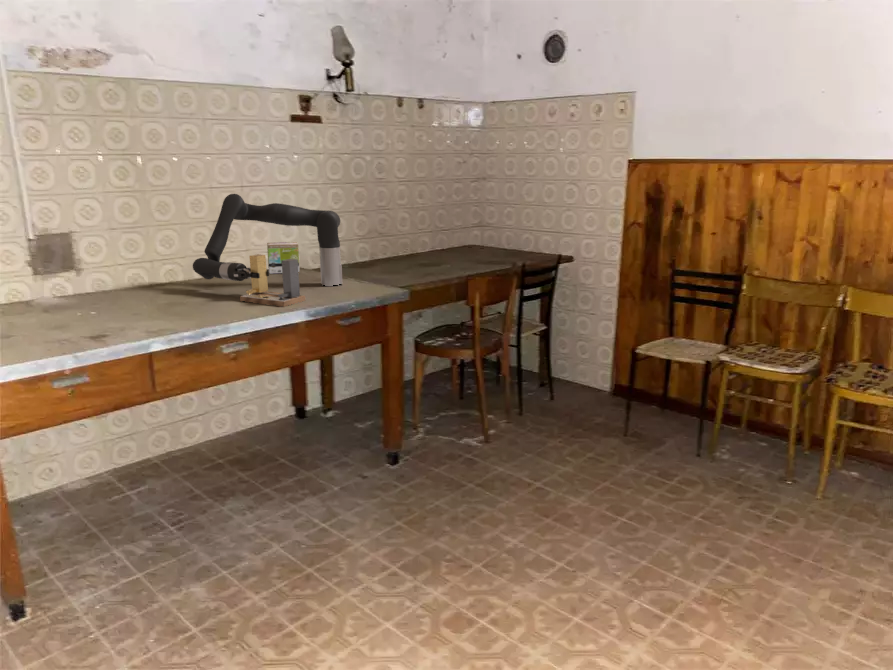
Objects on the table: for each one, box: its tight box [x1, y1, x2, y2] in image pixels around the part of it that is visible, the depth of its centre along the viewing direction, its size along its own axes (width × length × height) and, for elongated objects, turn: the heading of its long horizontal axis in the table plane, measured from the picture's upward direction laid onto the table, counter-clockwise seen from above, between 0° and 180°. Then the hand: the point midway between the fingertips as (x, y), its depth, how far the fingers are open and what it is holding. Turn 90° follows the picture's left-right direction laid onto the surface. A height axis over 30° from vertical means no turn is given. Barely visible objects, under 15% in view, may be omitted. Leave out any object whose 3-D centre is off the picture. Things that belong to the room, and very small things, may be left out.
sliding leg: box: [245, 253, 269, 295], centre depth 277 cm, size 4×10×15 cm, turn 152°
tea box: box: [266, 241, 300, 275], centre depth 341 cm, size 15×10×15 cm, turn 106°
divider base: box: [239, 259, 306, 308], centre depth 273 cm, size 23×13×17 cm, turn 62°
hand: (263, 274), depth 278 cm, fingers closed on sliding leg, 5 cm apart
